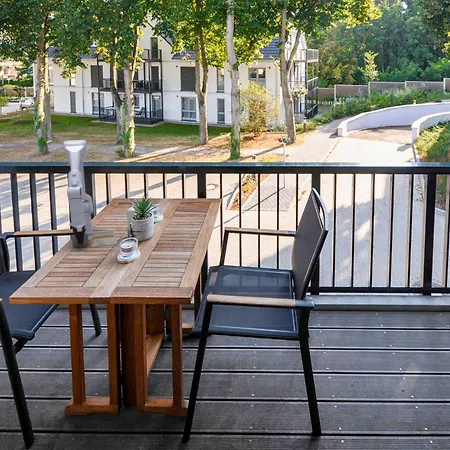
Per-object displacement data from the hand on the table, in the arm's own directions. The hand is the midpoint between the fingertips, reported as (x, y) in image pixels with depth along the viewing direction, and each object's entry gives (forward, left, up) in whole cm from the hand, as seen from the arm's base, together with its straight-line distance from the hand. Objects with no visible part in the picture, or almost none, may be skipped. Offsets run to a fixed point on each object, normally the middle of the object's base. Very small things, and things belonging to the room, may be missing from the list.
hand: (80, 242), depth 283 cm
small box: (-16, +27, -2) cm, 31 cm away
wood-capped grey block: (0, 0, -1) cm, 1 cm away
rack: (-3, +10, -1) cm, 11 cm away
